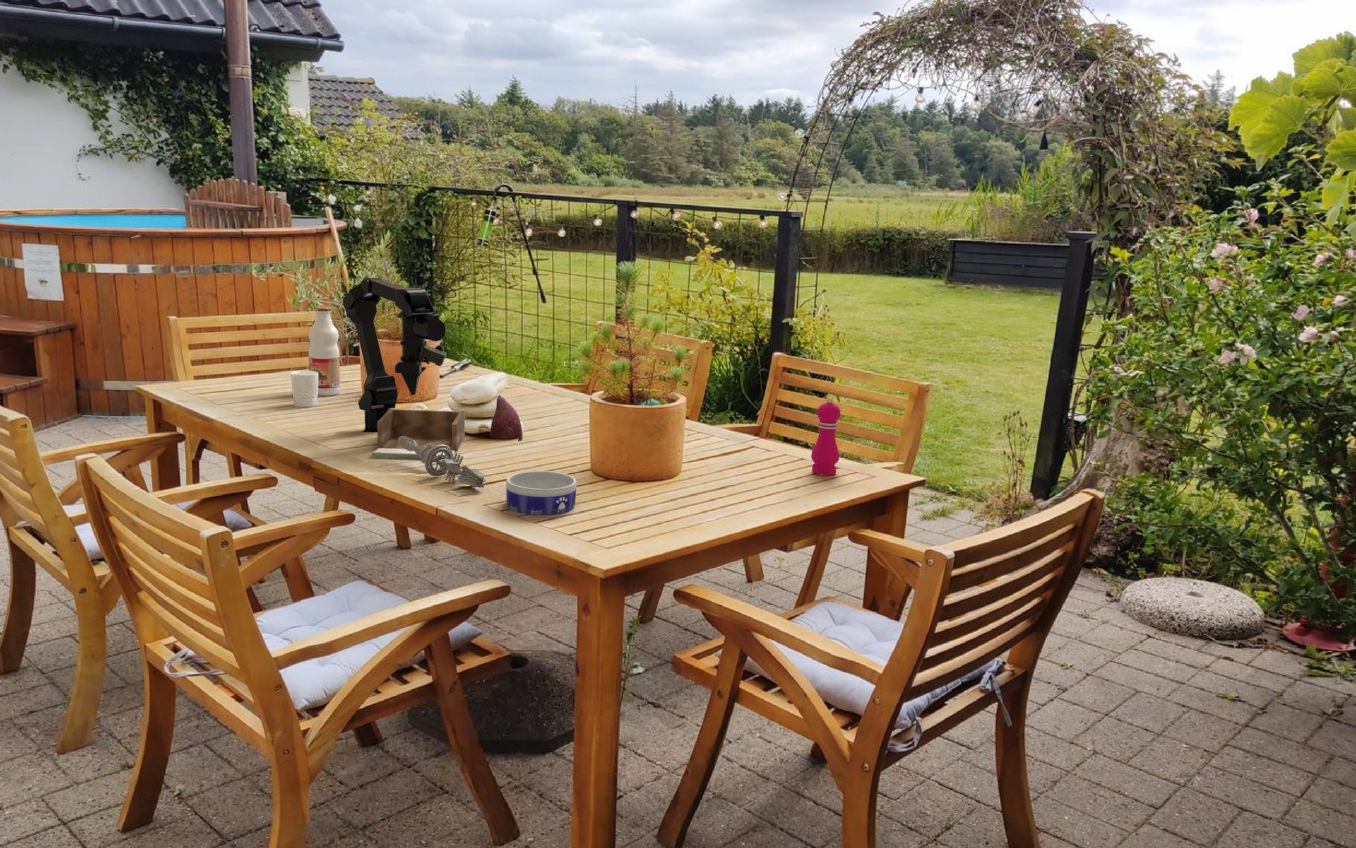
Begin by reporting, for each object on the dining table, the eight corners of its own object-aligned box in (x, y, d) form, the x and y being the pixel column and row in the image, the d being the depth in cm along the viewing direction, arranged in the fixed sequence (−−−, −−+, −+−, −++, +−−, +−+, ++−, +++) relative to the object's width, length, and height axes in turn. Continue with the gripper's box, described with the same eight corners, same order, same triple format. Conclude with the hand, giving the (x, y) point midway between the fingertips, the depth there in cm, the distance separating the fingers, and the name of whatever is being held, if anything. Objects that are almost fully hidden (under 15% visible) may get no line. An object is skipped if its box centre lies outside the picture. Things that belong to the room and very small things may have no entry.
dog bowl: (546, 492, 238) (546, 466, 237) (589, 507, 228) (590, 481, 226) (491, 503, 227) (492, 477, 226) (535, 520, 217) (536, 493, 216)
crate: (377, 452, 265) (377, 421, 263) (390, 437, 280) (389, 409, 278) (456, 454, 266) (456, 424, 265) (464, 440, 282) (464, 411, 280)
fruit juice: (344, 394, 333) (342, 308, 327) (315, 397, 328) (312, 309, 322) (334, 389, 340) (332, 305, 334) (305, 391, 335) (303, 305, 329)
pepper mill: (820, 477, 263) (826, 400, 258) (804, 470, 269) (810, 395, 265) (843, 475, 266) (850, 399, 262) (827, 468, 272) (833, 393, 268)
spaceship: (416, 427, 259) (391, 419, 253) (502, 471, 237) (477, 463, 231) (404, 457, 259) (379, 449, 253) (489, 503, 237) (463, 496, 231)
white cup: (324, 405, 317) (323, 373, 314) (303, 408, 310) (302, 376, 308) (307, 401, 321) (306, 369, 319) (286, 404, 314) (285, 372, 312)
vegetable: (485, 448, 285) (471, 402, 283) (505, 438, 293) (492, 393, 290) (511, 445, 281) (498, 398, 278) (531, 435, 288) (518, 389, 286)
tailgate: (378, 452, 264) (372, 458, 256) (378, 448, 263) (372, 453, 256) (454, 455, 265) (450, 460, 258) (454, 450, 265) (450, 455, 258)
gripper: (438, 342, 262) (438, 402, 266) (449, 333, 280) (449, 389, 284) (394, 341, 261) (394, 401, 265) (407, 331, 279) (408, 387, 283)
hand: (413, 394), depth 274 cm, fingers closed
